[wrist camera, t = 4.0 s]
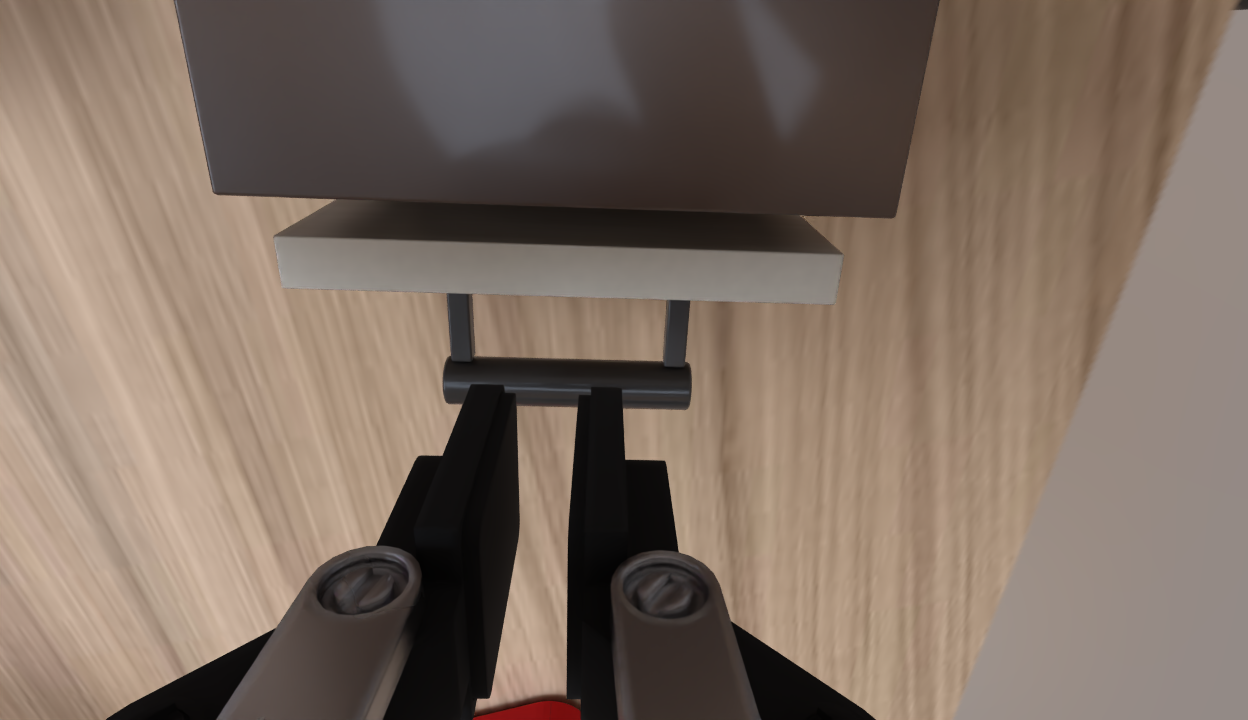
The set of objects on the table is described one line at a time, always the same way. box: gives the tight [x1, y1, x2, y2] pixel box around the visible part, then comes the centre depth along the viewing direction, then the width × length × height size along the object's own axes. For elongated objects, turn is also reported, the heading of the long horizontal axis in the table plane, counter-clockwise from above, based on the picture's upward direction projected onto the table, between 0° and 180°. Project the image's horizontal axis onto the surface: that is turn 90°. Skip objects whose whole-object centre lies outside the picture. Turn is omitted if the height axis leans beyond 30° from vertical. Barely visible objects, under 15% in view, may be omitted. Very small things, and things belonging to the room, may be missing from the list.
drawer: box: [273, 199, 844, 410], centre depth 17 cm, size 19×12×9 cm, turn 178°
